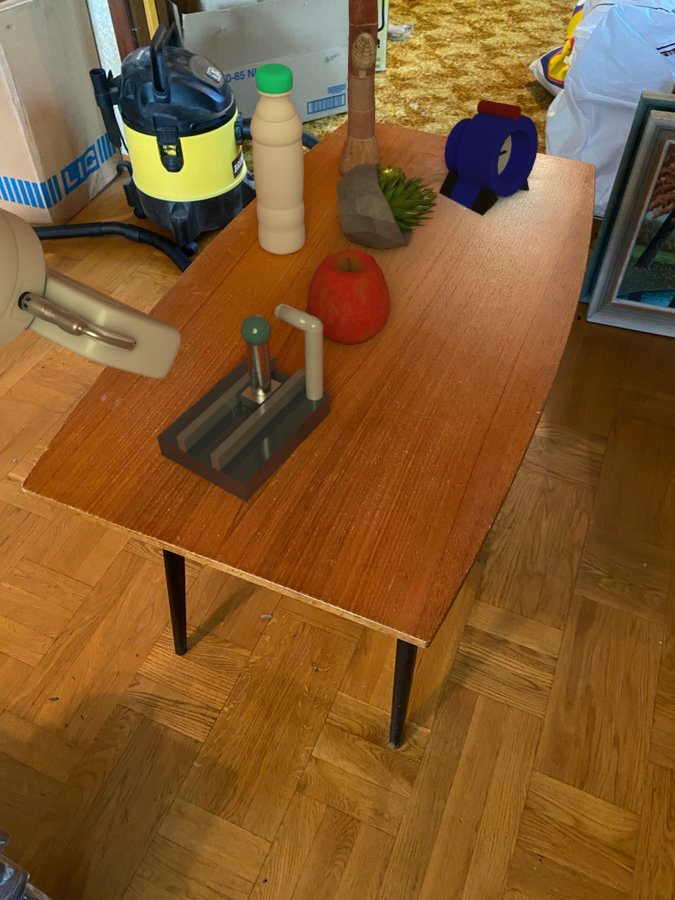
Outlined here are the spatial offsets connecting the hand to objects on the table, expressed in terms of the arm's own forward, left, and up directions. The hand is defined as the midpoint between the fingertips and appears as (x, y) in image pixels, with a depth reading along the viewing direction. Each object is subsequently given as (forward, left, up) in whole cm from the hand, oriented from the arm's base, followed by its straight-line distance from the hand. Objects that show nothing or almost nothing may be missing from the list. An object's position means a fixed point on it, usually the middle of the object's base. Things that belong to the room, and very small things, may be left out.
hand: (118, 320), depth 56 cm
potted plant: (-8, +57, -25) cm, 63 cm away
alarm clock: (-2, +79, -25) cm, 83 cm away
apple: (-1, +36, -25) cm, 44 cm away
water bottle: (-20, +47, -25) cm, 57 cm away
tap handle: (0, +16, -21) cm, 27 cm away
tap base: (0, +13, -25) cm, 28 cm away
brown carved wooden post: (-22, +72, -25) cm, 79 cm away
